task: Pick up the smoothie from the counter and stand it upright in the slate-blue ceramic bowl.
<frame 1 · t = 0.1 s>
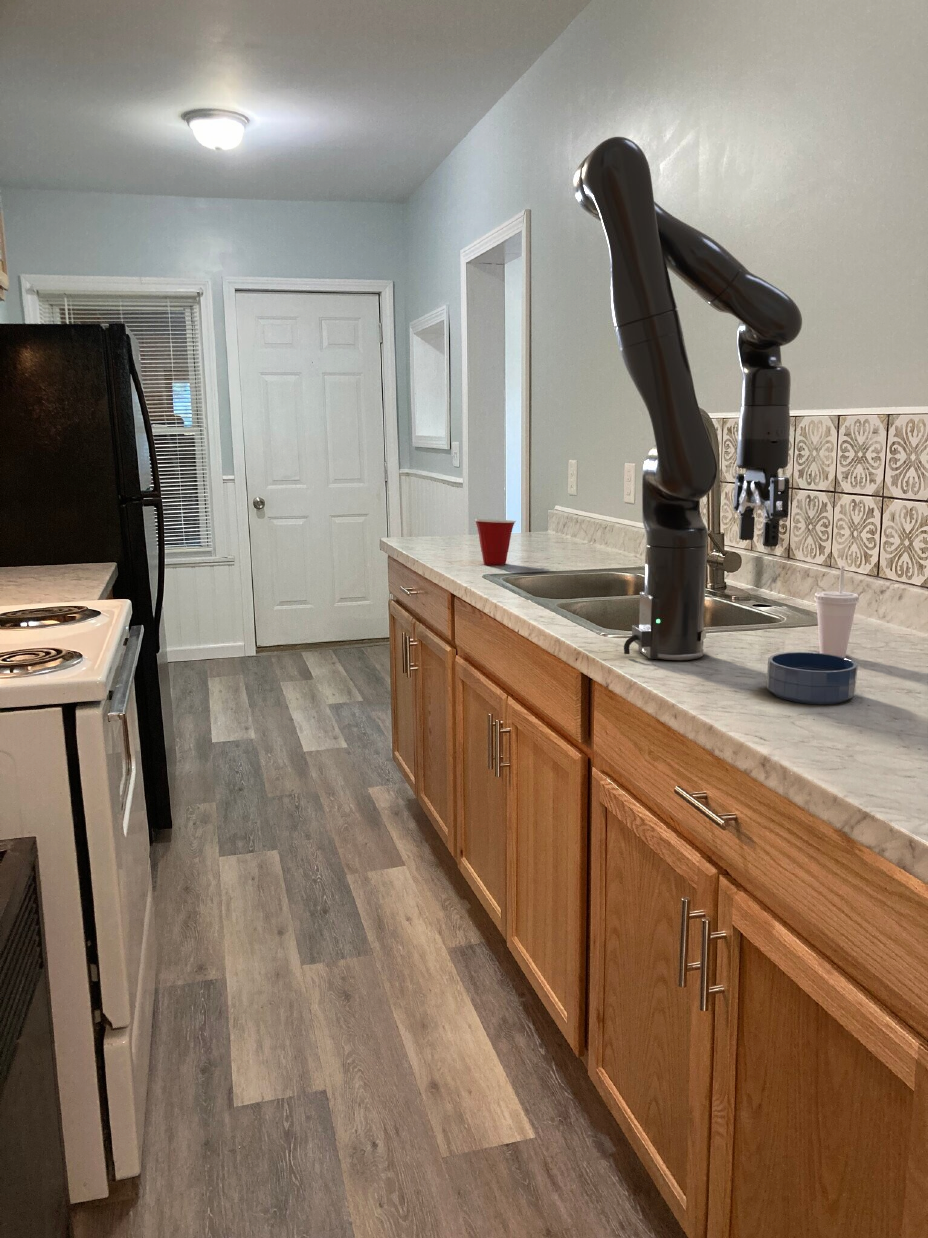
hand: (757, 543, 149), 17 cm above the countertop, tool pointing down, fingers open, 8 cm apart
smoothie: (832, 657, 149), on the countertop
bowl: (810, 694, 128), on the countertop
plastic cup: (495, 564, 253), on the countertop
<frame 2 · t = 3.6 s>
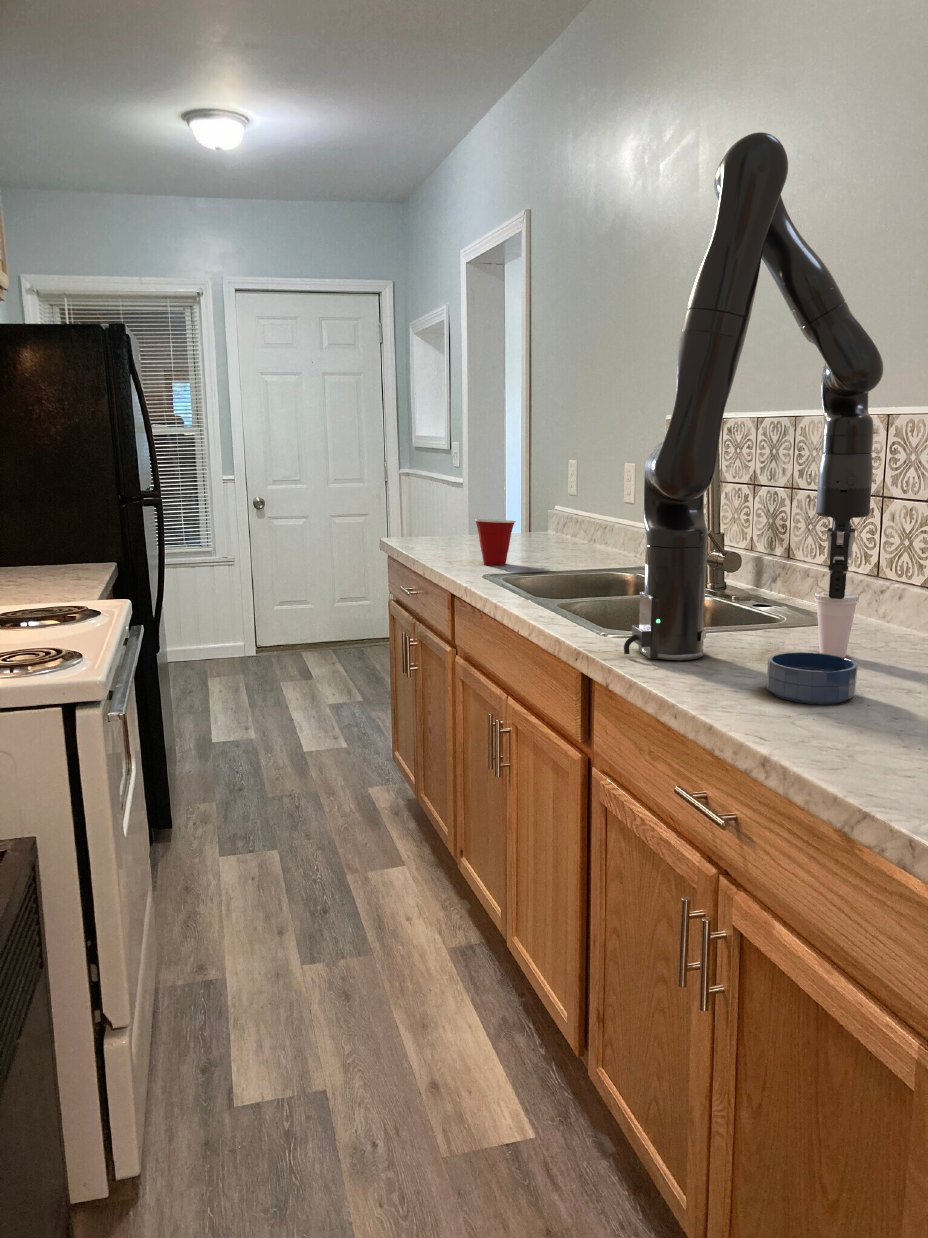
hand: (837, 594, 147), 10 cm above the countertop, tool pointing down, fingers closed on smoothie, 6 cm apart
smoothie: (832, 657, 149), on the countertop, touching gripper
everything else where it was.
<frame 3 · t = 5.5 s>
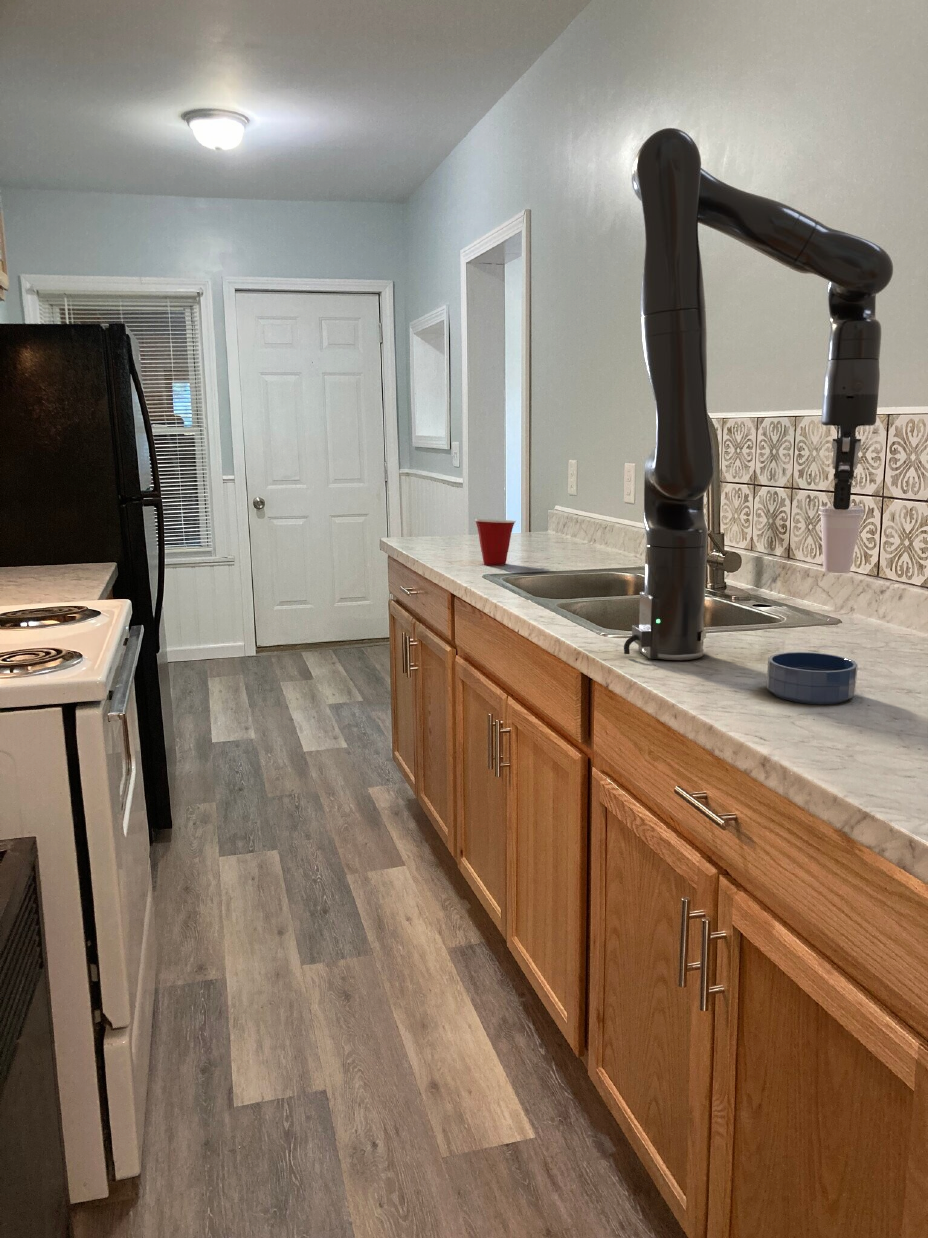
hand: (841, 507, 144), 23 cm above the countertop, tool pointing down, fingers closed on smoothie, 6 cm apart
smoothie: (836, 572, 146), point 13 cm above the countertop, touching gripper
everything else where it was.
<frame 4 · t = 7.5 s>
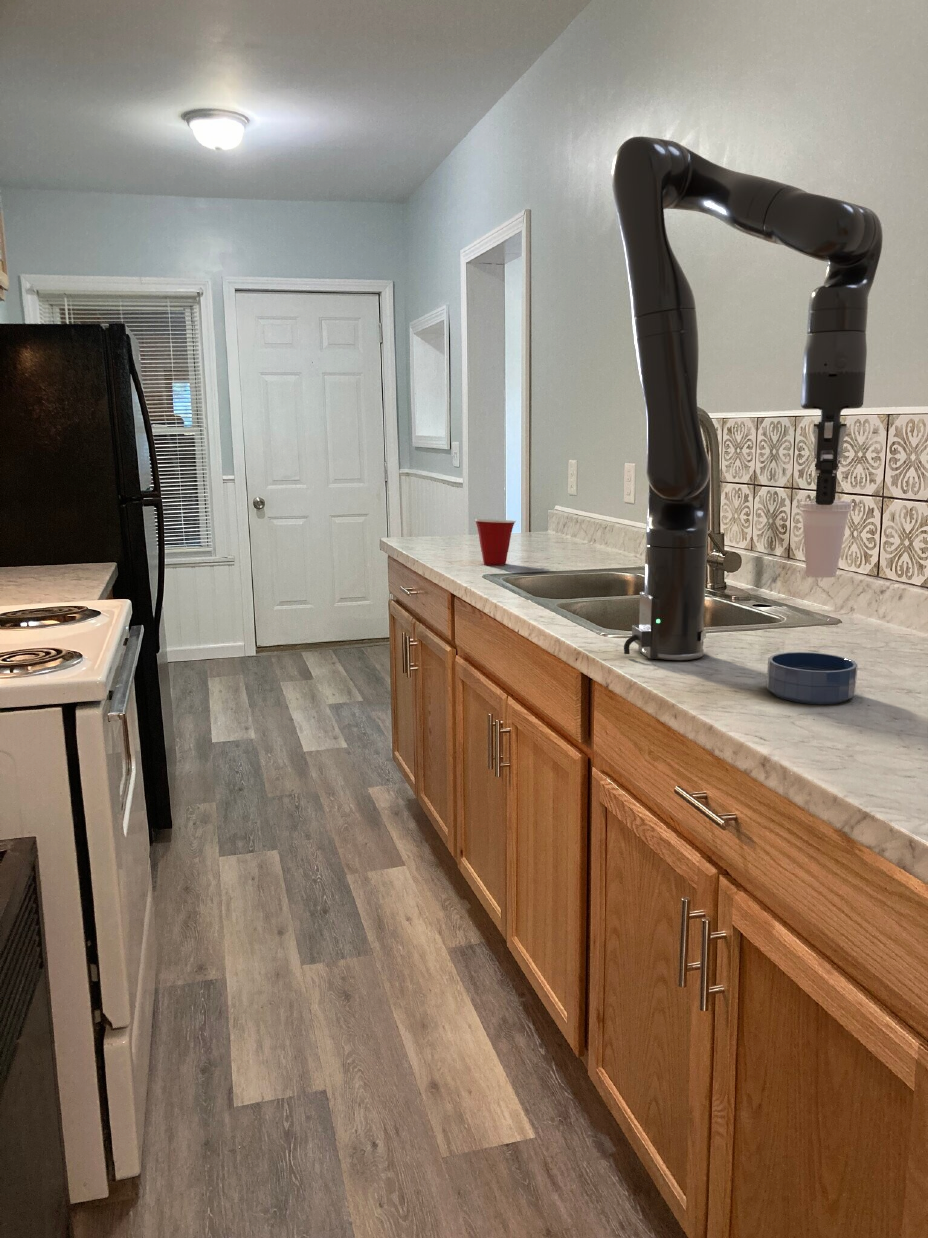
hand: (825, 502, 126), 25 cm above the countertop, tool pointing down, fingers closed on smoothie, 6 cm apart
smoothie: (820, 576, 128), point 15 cm above the countertop, touching gripper
everything else where it was.
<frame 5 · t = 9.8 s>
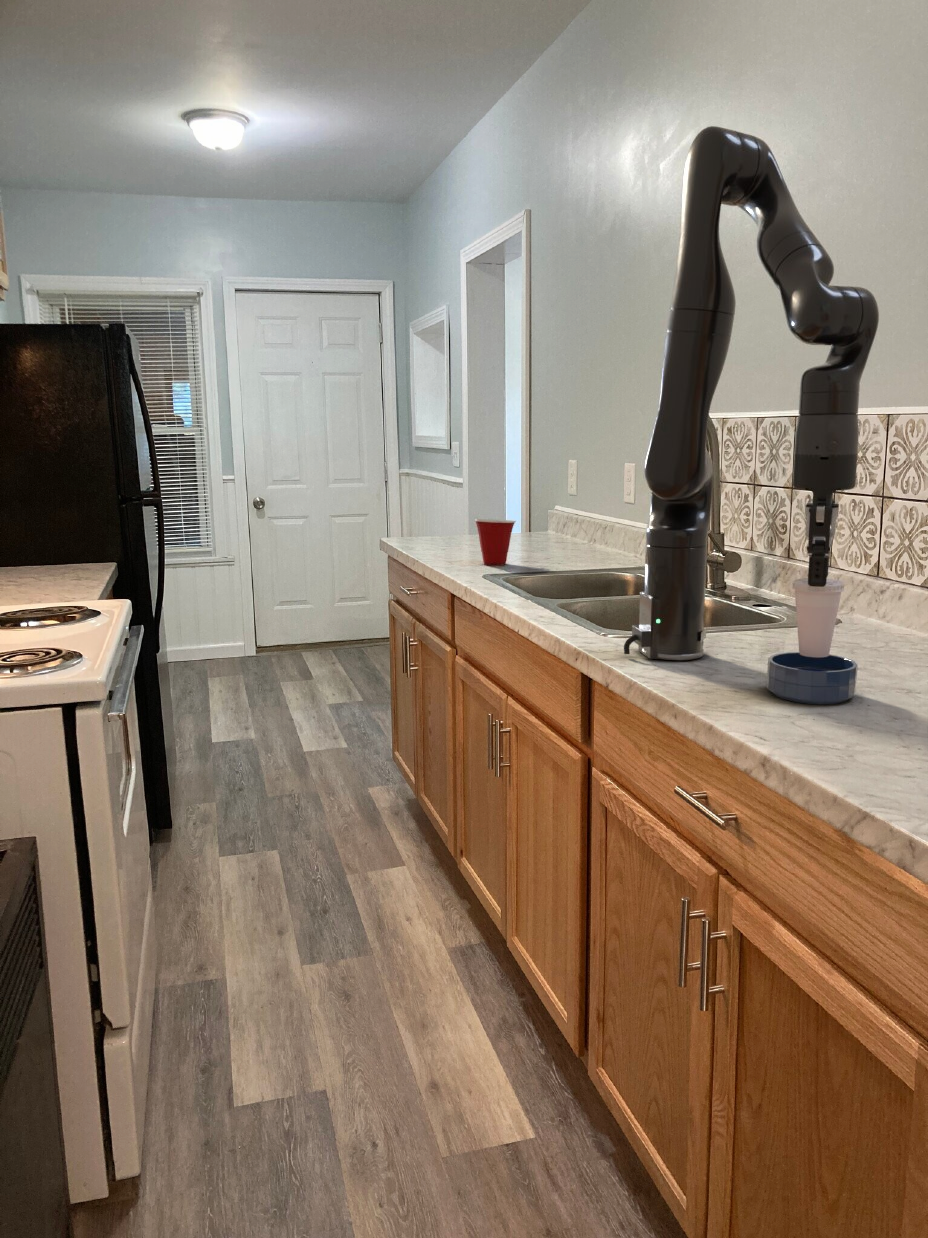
hand: (817, 581, 125), 15 cm above the countertop, tool pointing down, fingers closed on smoothie, 6 cm apart
smoothie: (813, 655, 127), point 5 cm above the countertop, touching gripper
everything else where it was.
when the fingers open (10 cm above the countertop, at t = 11.6 s): smoothie stays where it is, resting on bowl.
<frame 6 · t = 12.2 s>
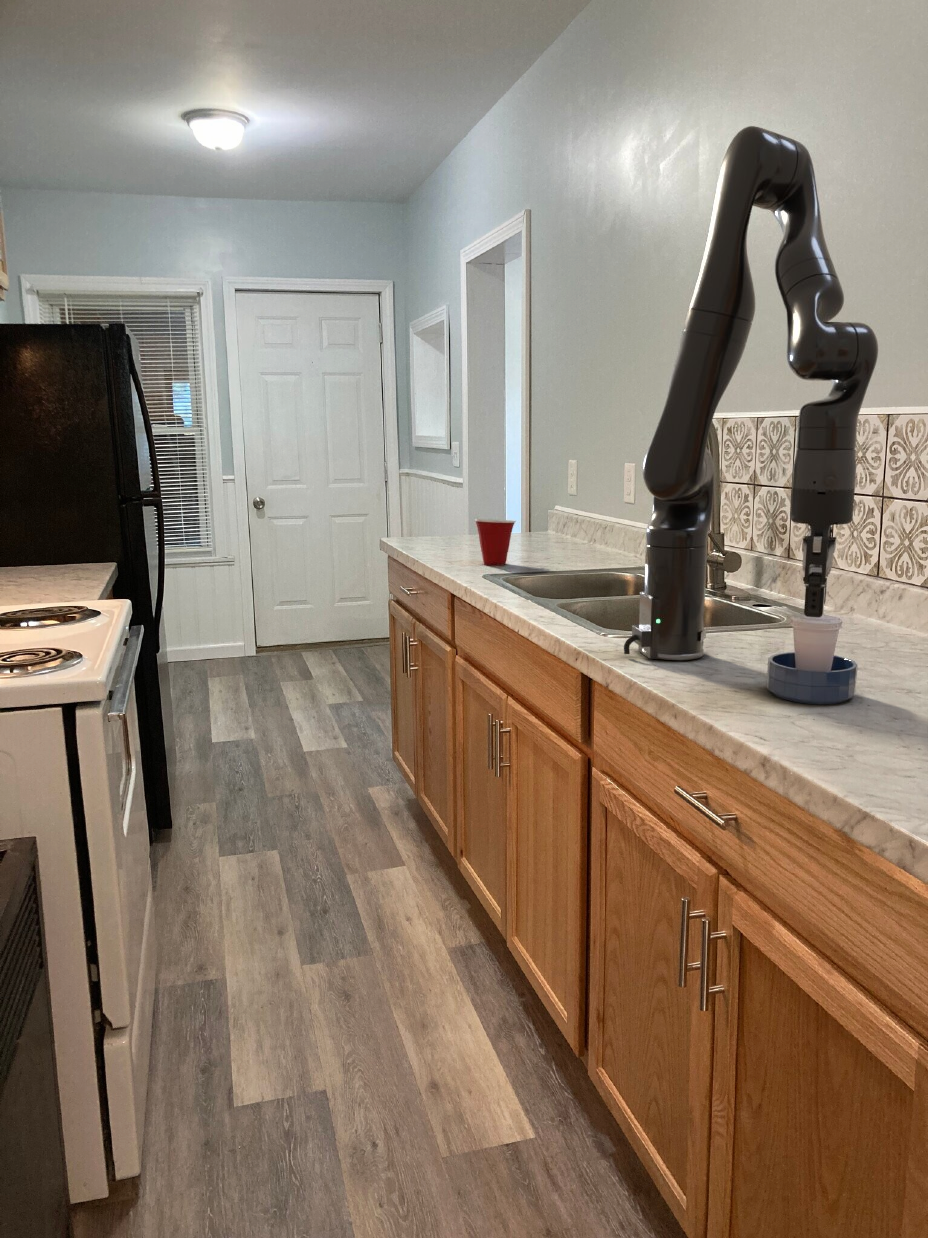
hand: (814, 610, 126), 11 cm above the countertop, tool pointing down, fingers open, 8 cm apart
smoothie: (811, 691, 128), resting on bowl
everything else where it was.
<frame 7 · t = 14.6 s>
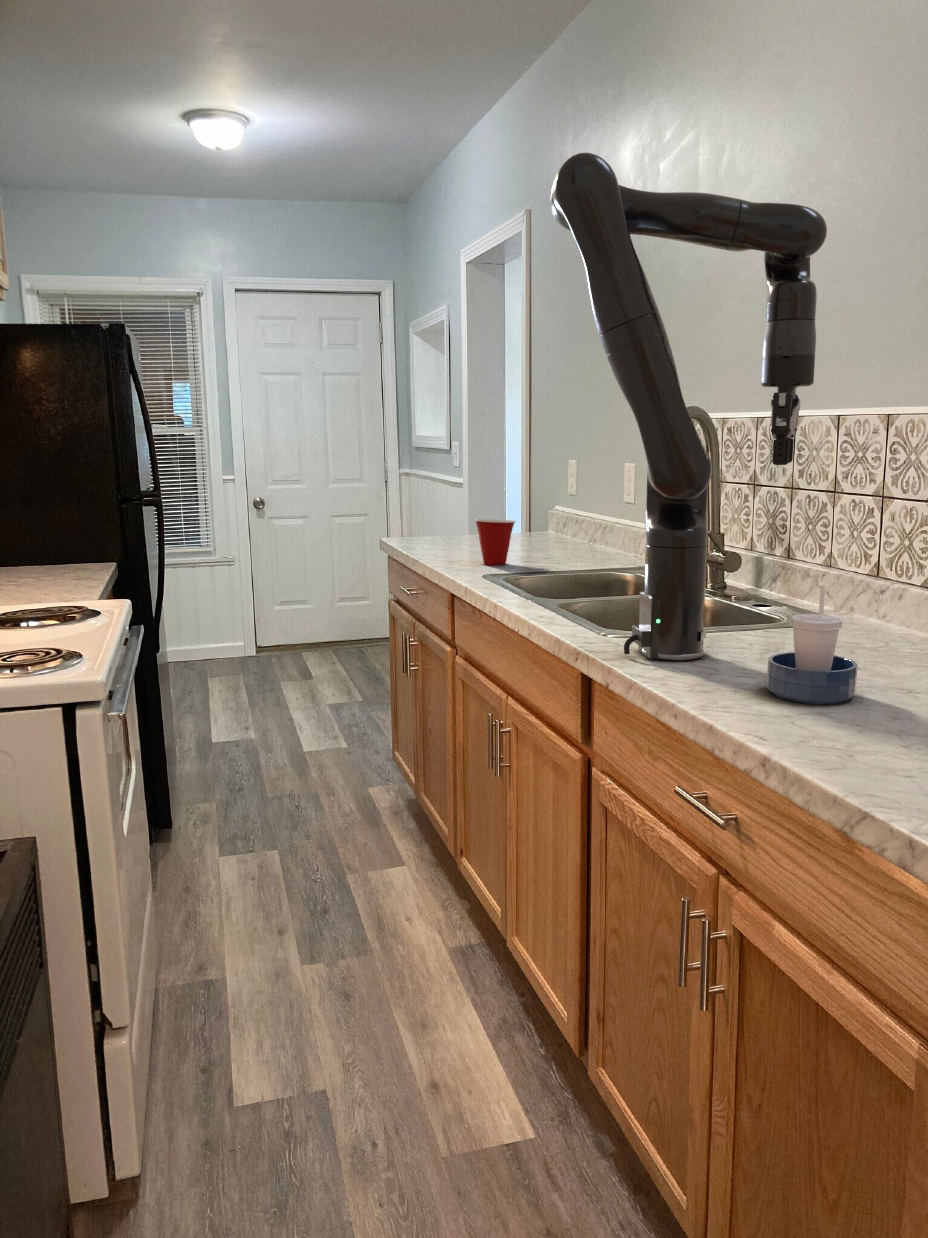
hand: (782, 463, 147), 29 cm above the countertop, tool pointing down, fingers open, 8 cm apart
nothing on the countertop moved.
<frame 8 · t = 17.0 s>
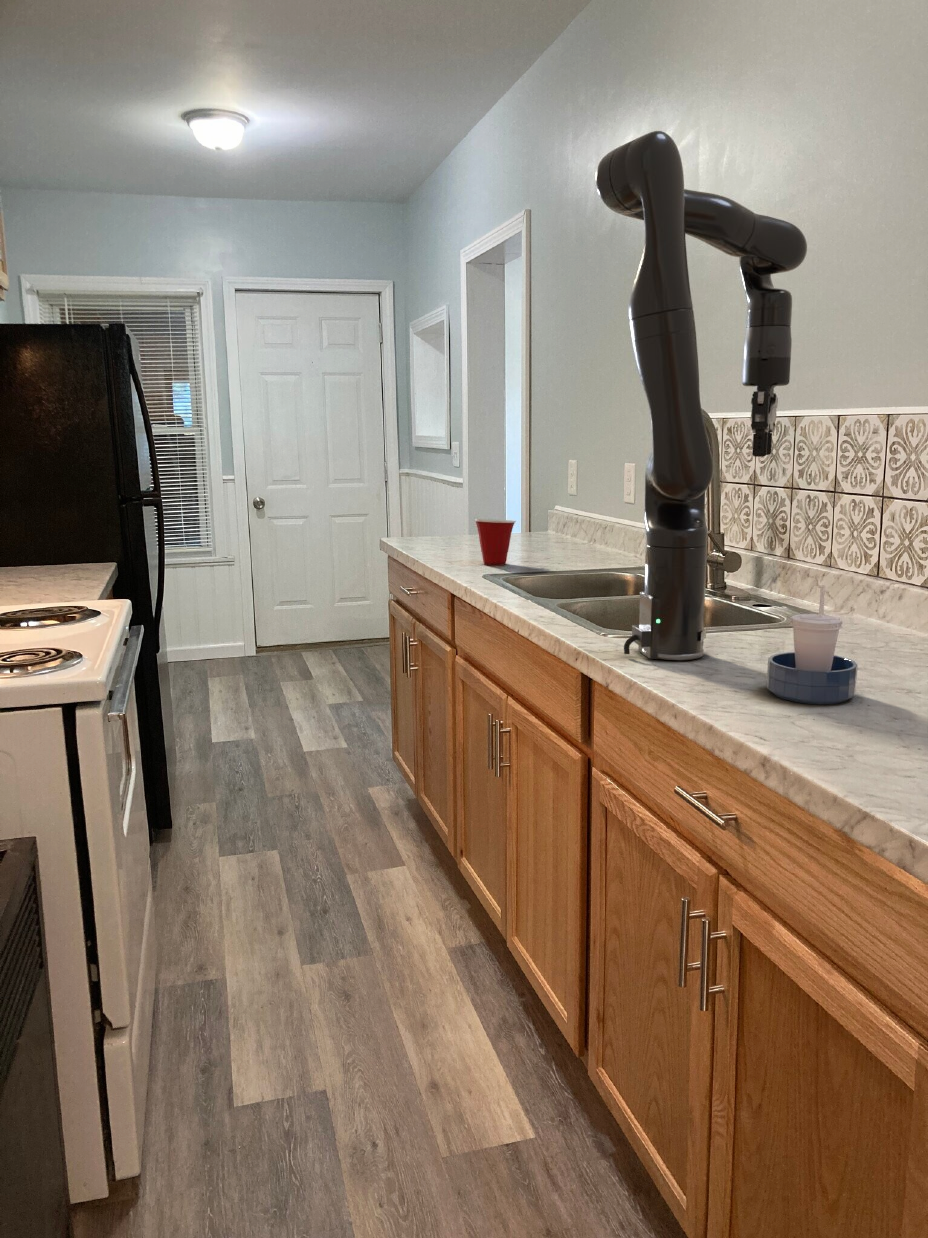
hand: (761, 455, 162), 30 cm above the countertop, tool pointing down, fingers open, 8 cm apart
nothing on the countertop moved.
at the end: smoothie 0.2 cm off-centre in the bowl, point 0.4 cm above the bowl's base; smoothie tilted 0°; the gripper is holding nothing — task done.
